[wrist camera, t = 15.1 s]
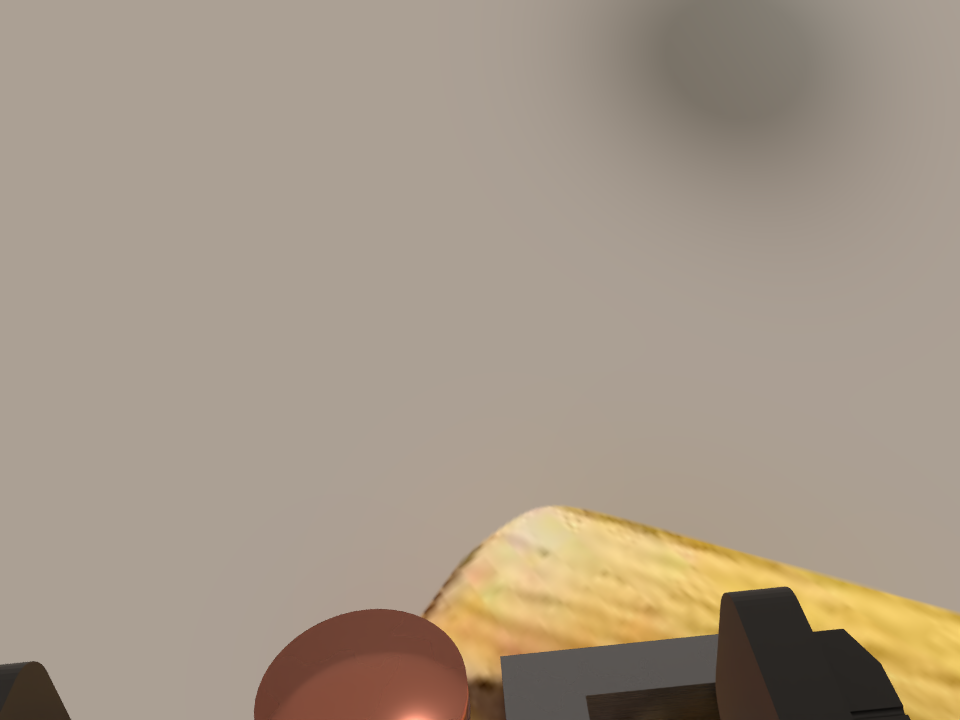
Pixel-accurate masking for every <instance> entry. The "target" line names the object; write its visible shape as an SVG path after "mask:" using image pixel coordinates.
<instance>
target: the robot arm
mask: <svg viewBox="0 0 960 720" xmlns="http://www.w3.org/2000/svg"><path fill="white" fill-rule="evenodd" d="M715 681H716V695H717V703H718V709H719V715H720V719H721V720H910V718H909V716H908V715H905V713H904V710H903V705H902V703H901V701H900V699H899V697H898V695H897V693H896V691H895V689H894V688H893V686H892V684H891V682H890V680H889V678H888V676H887V674H886V672H885V671H884V669H883V667H882V665H881V663H880V662H879V661H878V660H876V659H875V658H874V657H873V656H872V655H871V654H870V653H869V652H868V651H867V650H866V649H865V648H863V647H862V646H861V645H860V644H859V643H858V642H857V641H856V640H855V639H854V638H853V637H852V636H851V635H849V634H848V633H847V632H846V631H845V630H844V629H836V630H826V631H817V632H813V631H812V629H811V627H810V625H809V623H808V621H807V619H806V616H805V614H804V612H803V610H802V608H801V606H800V604H799V601H798V599H797V598H796V596H795V594H794V593H793V591H792V590H791V589H790V588H788V587H777V588H767V589H758V590H748V591H738V592H728V593H724V594H723V596H722V599H721V607H720V621H719V635H718V648H717V662H716V679H715ZM0 720H71V719H70V717H69V715H68V713H67V711H66V709H65V707H64V705H63V703H62V701H61V699H60V697H59V695H58V693H57V691H56V689H55V687H54V685H53V683H52V681H51V679H50V677H49V675H48V673H47V671H46V669H45V668H44V666H43V665H42V664H40V663H38V662H34V661H32V662H23V663H14V664H5V665H4V664H3V665H0Z"/></svg>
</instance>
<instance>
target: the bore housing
mask: <svg viewBox="0 0 960 720" xmlns="http://www.w3.org/2000/svg"><path fill="white" fill-rule="evenodd" d="M718 635H719V634H715V635H705V636H695V637H686V638H676V639H666V640H657V641H647V642H637V643H627V644H618V645H608V646H598V647H588V648H579V649H569V650H559V651H549V652H540V653H530V654H520V655H510V656H501V657H500V658H501V669H502V680H503V691H504V702H505V713H506V720H721V719H720V715H719V709H718V703H717V695H716V681H715V679H716V662H717V648H718Z"/></svg>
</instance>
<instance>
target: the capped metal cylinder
mask: <svg viewBox="0 0 960 720" xmlns="http://www.w3.org/2000/svg"><path fill="white" fill-rule="evenodd" d="M254 718H255V719H254V720H470V699H469V692H468V684H467V676H466V669H465V665H464V662H463V659H462V656H461V654H460V652H459V650H458V648H457V647H456V645H455V644H454V642H453V641H452V640H451V638H450V637H449V636H448V635H447V634H446V633H445V632H444V631H442V630H441V629H440V628H439V627H437V626H436V625H435V624H433V623H431V622H429V621H428V620H426V619H424V618H421V617H419V616H416V615H414V614H410V613H406V612H403V611H396V610H387V609H370V610H361V611H354V612H350V613H346V614H342V615H339V616H336V617H333V618H330V619H328V620H325V621H323V622H321V623H319V624H317V625H315V626H313V627H312V628H310V629H308V630H306V631H305V632H303V633H302V634H301V635H299V636H298V637H296V638H295V639H294V640H293V641H292V642H290V644H288V645H287V646H286V647H285V648H284V649H283V650H282V651H281V652H280V653H279V654H278V655H277V657H276V658H275V659H274V660H273V662H272V663H271V665H270V666H269V667H268V669H267V671H266V673H265V674H264V676H263V678H262V681H261V683H260V686H259V688H258V691H257V695H256V699H255V708H254Z"/></svg>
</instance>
